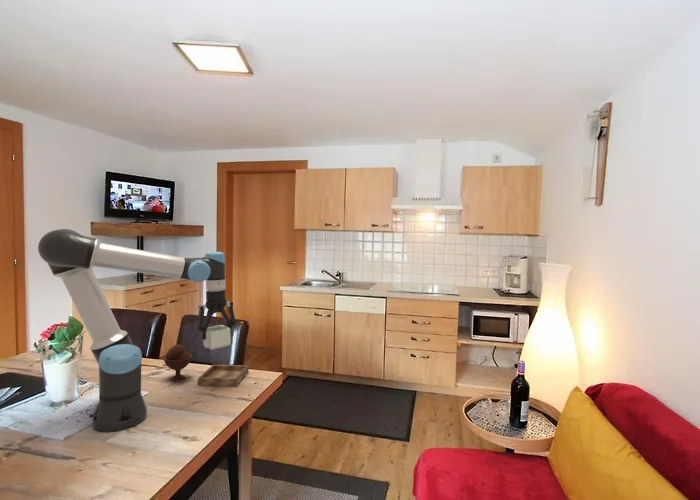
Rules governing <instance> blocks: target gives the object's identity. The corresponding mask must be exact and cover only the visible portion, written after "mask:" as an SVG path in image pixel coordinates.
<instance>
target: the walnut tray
mask: <svg viewBox="0 0 700 500" xmlns="http://www.w3.org/2000/svg"><path fill="white" fill-rule="evenodd" d="M248 374H249V365H243V364H242V365H241V364H240V365H237V364H236V365H235V364H212V365H211V366H210V367H208V368H207V369H206V370H205V371H204V372H203V373H202V374H200V375H199V377H198V378H197V386H199V385H200V386H203V387H204V386H205V387H207V386H208V387H233V388H234V387H235V388H237V387H238V386H239V385H240V384H241V382H242V381H244V378H245V377H246V376H247V375H248ZM200 386H199V387H200Z"/></svg>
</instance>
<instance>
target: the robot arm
mask: <svg viewBox="0 0 700 500" xmlns="http://www.w3.org/2000/svg"><path fill="white" fill-rule="evenodd" d="M37 250H38V251H37V252H38V254H39V257H40V258H41V259H42V260H43V262H45V263H47V265H48V267H49V269H50V271H51V273H52V275H53V276H54V277H58V278H60V279H61V280H62V281H63V285H64V286H65V288H66V290H67V292H68V294H69V296H70V297H71V300H72V302H73V304H74V306H75V307H76V310H77V313H78V315H79V316H80V318H81V320H82V322H83V324H84V326H85V329H86V330H87V332H88V334H89V336H90V338H91V340H92V343H91V345H90V351H91V352H92V355H93V357H94V359H95V361H96V362H97V364H98V378H99V379H98V381H99V382H98V383H99V384H98V392H99V395H98V402H97V406H96V408H95V411H94V413H93V417H92V418H91V419H92V420H91V421H92V422H91V423H92V426H91V427H92V429H93V430H95V431H97V432H98V431H99V432H106V433H107V432H109V433H110V432H116V431H121V430H126V429H129V428H131V427H133V426H137V425H139V424H140V423H142V422H143V421H144V420H146V418H147V414H148V408H147V405H146V402H145V400H144V397H143V394H142V360H143V355H142V350H141V349H140V347H139V346H137V345H134V344H133V341H132V340H131V337H130V335H129V333H128V331H126V330H123V329H121V328H120V326H119V324H118V321H117V319H116V317H115V315H114V313H113V312H112V311H113V310H112V309H111V307H110V305H109V303H108V300H107V298H106V296H105V294H104V292H103V290H102V288H101V285H100V284H99V282H98V279H97V277H96V275H95V273H94V271H93V268H94V267H97V268H105V269H111V270H118V271H126V272H132V273H140V274H147V275H154V276H159V277H166V278H175V279H181V280H187V281H192V282H194V283H195V282H196V283H202V282H205V290H206V291H205V299H206V301H205V304H203V305H198V316H197V322H196V323H197V324H196V330H197V331H198V332H201V339H202V341H203V340H204V343H203V347H204V348H206V349H209V346H208V331H206V330H207V328H208V327H209V325H210V322H211V320H212V317H213V316H214V314H217V313H219V314H220V315H221V317H222V319H223V321H224V324H225V326H226V327H228V328H230V335H232V328H233V327H234V326H235V325H236V324H237V322H236V317H235V311H234V307H233V306H234V302H232V301H231V300H230V301H229V300H228V301H227V300H226V299H227V298H226V297H227V294H226V293H227V292H226V256H225V253H224V252H223V251H207V252H206V253H205V254H204V257H181V256H176V255H172V254H171V255H170V254H165V253H160V252H154V251H148V250H142V249H138V248H132V247H128V246H127V247H126V246H122V245H115V244H109V243H103V242H100V240H99V239H98V238H94V237H89V236H85V235H82V234H80V233H79V232H77V231H76V230H73V229H69V228H60V229H59V228H58V229H53V230H51V231H49V232H47V233H45V234H44V235H43V236H42V237H41V238H40V240H39V241H38V245H37ZM225 307H227V311H228V312H226V310H225ZM206 309H207V312H206V316H205V311H206ZM227 313H228V315H227ZM204 317H205V319H204Z"/></svg>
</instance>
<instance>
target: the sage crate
mask: <svg viewBox="0 0 700 500" xmlns="http://www.w3.org/2000/svg"><path fill="white" fill-rule="evenodd" d="M226 326H227V325H223V324H220V325H219V324H218V325H215V326H214V325H213V326H208V328H207V330H206V331H208V346H209V348H208V349H209V350H210V351H212V350H218V349H222V348H225V347H229V346H231V341H232V340H231V334H230V328H228V327H226ZM202 341H203V344H204V340H203V339H202Z"/></svg>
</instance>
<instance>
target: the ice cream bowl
mask: <svg viewBox="0 0 700 500" xmlns="http://www.w3.org/2000/svg"><path fill="white" fill-rule="evenodd" d="M186 350H187V349H186V346H185V345H183V344H179V343H178V344H174V345H173V346H172V347H171V348H169V349H168V350H167V352H166V353H165V354H166V355H165V357H163V362H164V364H165V365H166V366H167V367H168V368H169V369H171V370H172V371H175V375H173V376H172V377H171V378H170V381H172V382H181V381H184V380H185V379H186V377H185V376H184V375H182V374H181V370H184V369H185V368H186V367H187V366H188V365H190V363H191V362H192V360H193V354H192V353H190V352H189V351H186ZM183 379H184V380H183ZM180 380H181V381H180Z"/></svg>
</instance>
